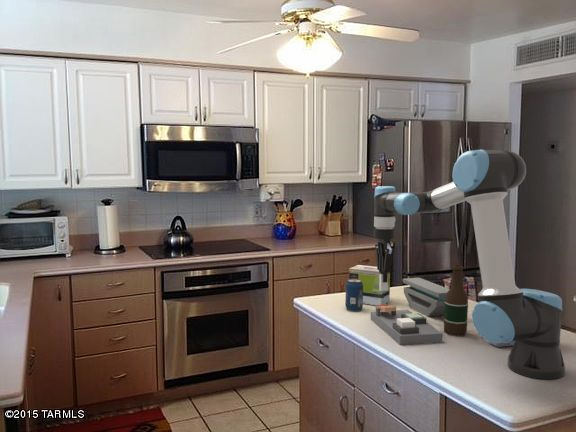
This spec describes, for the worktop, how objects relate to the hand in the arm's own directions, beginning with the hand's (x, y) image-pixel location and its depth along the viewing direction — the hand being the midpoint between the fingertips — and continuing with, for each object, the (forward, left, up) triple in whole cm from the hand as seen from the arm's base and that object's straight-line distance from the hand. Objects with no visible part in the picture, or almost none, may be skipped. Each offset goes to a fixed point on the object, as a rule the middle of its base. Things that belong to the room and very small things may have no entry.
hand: (383, 290), depth 199 cm
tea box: (+26, -4, -12) cm, 29 cm away
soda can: (+16, +6, -12) cm, 21 cm away
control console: (-12, -3, -12) cm, 17 cm away
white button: (-21, 0, -7) cm, 22 cm away
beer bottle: (-18, -20, -12) cm, 29 cm away
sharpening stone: (+8, -22, -12) cm, 26 cm away
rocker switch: (-3, 0, -6) cm, 7 cm away
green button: (-12, -7, -8) cm, 16 cm away
